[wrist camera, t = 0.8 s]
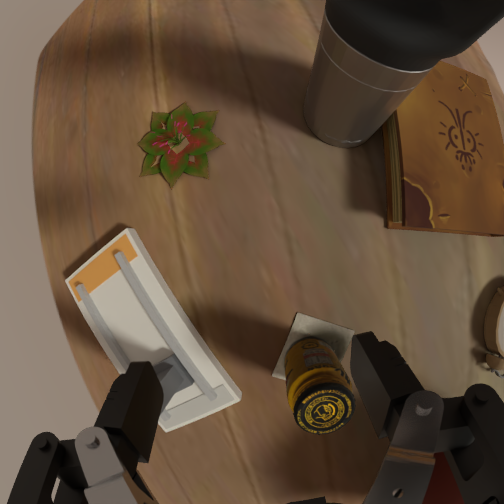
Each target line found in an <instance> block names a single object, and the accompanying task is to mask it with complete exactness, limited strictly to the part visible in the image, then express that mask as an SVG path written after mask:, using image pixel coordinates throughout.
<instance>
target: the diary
mask: <svg viewBox="0 0 504 504" xmlns="http://www.w3.org/2000/svg"><path fill="white" fill-rule="evenodd" d="M382 134H383V144H384V156H385V170H386V191H387V229H401V230H416V231H430V232H444V233H456V234H468V235H479V236H490V237H501V236H504V144H503V139H502V134H501V130H500V125H499V121H498V117H497V113H496V109H495V106H494V102H493V99H492V95H491V92H490V89H489V86H488V83H487V80H486V79H484V78H482V77H480V76H478V75H475V74H473V73H471V72H468V71H466V70H463V69H461V68H458V67H456V66H453V65H450V64H448V63H445V62H442V61H439V62H438V63H437V64H436V65H435V66H434V67H433V69H432V70H431V71H430V72H429V73H428V74H427V75H426V76H425V77H424V79H423V80H422V81H421V82H420V83H419V84H418V86H417V87H416V88H415V89H414V90H413V91H412V92H411V93H410V94H409V95H408V97H407V98H406V99H405V100H404V101H403V102H402V103H401V104H400V105H399V107H398V108H397V109H396V110H395V111H394V112H393V113H392V114H391V115H390V116H389V118H388V119H387V120H386V121H385V122H384V123H383V124H382Z"/></svg>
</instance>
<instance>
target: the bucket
mask: <svg viewBox="0 0 504 504" xmlns="http://www.w3.org/2000/svg"><path fill="white" fill-rule="evenodd" d="M433 457H434V458H435V465H434V469H433V472H432V475H431V479H430V482H429V485H428V488H427V491H426V494H425V496H424V499H423V502H422V504H464V501H463V498H462V496H461V493H460V491H459V488H458V486H457V483H456V481H455V478H454V476H453V473H452V471H451V469H450V466H449V464H448V462H447V459H446V457H445V455H444V453H443V452H438V453H434V455H433Z"/></svg>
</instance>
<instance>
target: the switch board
mask: <svg viewBox="0 0 504 504" xmlns="http://www.w3.org/2000/svg"><path fill="white" fill-rule="evenodd" d="M65 281H66V284H67V286H68V288H69V290H70V292H71V294H72V295H73V297H74V299H75V301H76V303H77V305H78V307H79V309H80V311H81V312H82V314H83V316H84V318H85V320H86V321H87V323H88V325H89V326H90V328H91V330H92V332H93V333H94V335H95V337H96V338H97V340H98V341H99V343H100V345H101V346H102V348H103V349H104V351H105V353H106V354H107V356H108V357H109V359H110V360H111V362H112V363H113V365H114V366H115V368H116V369H117V371H118V372H119V373H120V375H121V374H122V373H124V374H125V373H126V371H127V369H128V367H129V364H130V363H131V362H133V361H149V362H151V364H152V365H154V364H156V363H158V362H159V361H161V360H163V359H165V358H167V357H168V356H170V355H172V354H174V353H175V355H176V356H177V357H178V359H179V360H180V362H181V363H182V364H183V366H184V367H185V368H186V370H187V371H188V373H189V374H190V375H191V377H192V378H193V379H194V383H193V385H191V386H189V387H187V388H185V389H183V390H181V391H179V392H177V393H175V394H174V395H173V397H172V398H171V400H170V401H169V403H168V405H167V406H166V408H165V409H164V411H163V412H162V414H161V415H160V417H159V420H158V424H159V425H160V426H161V427H162V429H163V430H164V431H165V432H169V431H171V430H174V429H177V428H179V427H182V426H184V425H187V424H189V423H192V422H194V421H196V420H199V419H201V418H204V417H206V416H208V415H210V414H213V413H215V412H217V411H219V410H222V409H224V408H226V407H228V406H230V405H232V404H234V403H237V402H239V401H241V396H242V392H241V391H240V389H239V388H238V387H237V385H236V384H235V383H234V381H233V380H232V379H231V377H230V376H229V375H228V373H227V372H226V371H225V369H224V368H223V367H222V365H221V364H220V363H219V361H218V360H217V358H216V357H215V356H214V354H213V353H212V351H211V350H210V349H209V347H208V346H207V344H206V343H205V341H204V340H203V339H202V337H201V336H200V334H199V333H198V331H197V330H196V328H195V327H194V325H193V324H192V322H191V321H190V319H189V318H188V316H187V315H186V313H185V312H184V310H183V309H182V307H181V306H180V304H179V303H178V301H177V299H176V298H175V296H174V295H173V293H172V292H171V290H170V288H169V287H168V285H167V284H166V282H165V280H164V279H163V277H162V275H161V274H160V272H159V270H158V269H157V267H156V265H155V264H154V262H153V260H152V259H151V257H150V255H149V254H148V252H147V250H146V248H145V247H144V245H143V243H142V241H141V240H140V238H139V236H138V234H137V232H136V231H135V229H133V228H126V229H125V230H124V231H122V232H121V233H120V234H119V235H117V236H116V237H115V238H114V239H112V240H111V241H110V242H109V243H108V244H106V245H105V246H104V247H103V248H102V249H100V250H99V251H98V252H97V253H96V254H94V255H93V256H92V257H91V258H90V259H89V260H88V261H86V262H85V263H84V264H83V265H82V266H81V267H80V268H78V269H77V270H76V271H75V272H74V273H73V274H72V275H71V276H70V277H68V278H67V279H66V280H65Z"/></svg>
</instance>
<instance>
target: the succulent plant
mask: <svg viewBox="0 0 504 504" xmlns="http://www.w3.org/2000/svg"><path fill="white" fill-rule="evenodd" d="M218 111H219V110H217V111H210V112H200V113H197V114H195V115H193V113H192V111H191V110H190V108H189V107H188V106H187V105H186V101H185V102H184V104H182V105H181V106H180V107H179V108H177V109H176V110H174V111H173V112H172V113H171V114H168V113H155V112H152V114H153V115H152V119H153V120H152V122H151V128H152V131H151V132H149V133H148V134H147V135H146V136H145V137H144V138H143V139H142V141H141V142H139V143H137V144H138V145H139V146H140V147H143V150H144V151H146V152H147V153H148V155H147V156H146V158H145V160H144V164H143V168H142V171H143V172H142V173H141V175H140V177H142V176H146V175H148V174H150V175H152V174H157V173H160V172H162V174H163V176H164V177H165V179H166V180H167V182H169V183H170V187H171V190H172V188H173V186H174V184H175V183H176V181H177V179H179V177H180V176H181V174H182V172H183V171H184V172H185V173H187V174H190V175H193V176H198V177H205V178H206V179H209V176H208V169H207V168H208V159H207V155H206V152H208V151H210V150H213V149H215V148H217V147H218V146H219V145H223V144H226V143H224V142H222V141H221V140H220V139H219V138H217V137H216V135H214V134H213V133H212V132H210V130H211V128H212V126H213V124H214V122H215V119H216V114H217V113H218ZM161 122H162V123H164V124H165V125H167V129H168V130H165V129H162V128H163V126H162V123H161ZM200 125H201V126H200ZM195 126H200V128H197V129H194V130H192V129H193V127H195ZM180 132H181V135H180V141H179V139H178V133H180ZM182 134H183V135H184V136H185V137H186V138H187V139H188V141H189V144H188V145H187V146H186V147H185V148H184V149H183V150H182V151H181V152H180V153H178V154H176V153H175V152H174V151H173V150H171V149H172V148H173V147H175V146H177V145H179V143H181V142H182V140H183V139H184V138H185V137H184V138H183V139H182V140H181V136H182ZM175 135H176V138H175ZM173 137H174V138H175V139H174V138H173ZM171 142H173V143H176V145H174V146H173V147H172V148H170V147H169V145H168V144H167V143H171ZM163 154H164V155H163ZM188 154H189V155H194V158H195V163H194V162H190V161H188V160H189V156H188ZM157 155H163V157H162V158H161V162H160V163H158V164H156V165H154V166H153V167H151V166H152V165H153V164H154V162H155V161H156V157H157Z"/></svg>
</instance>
